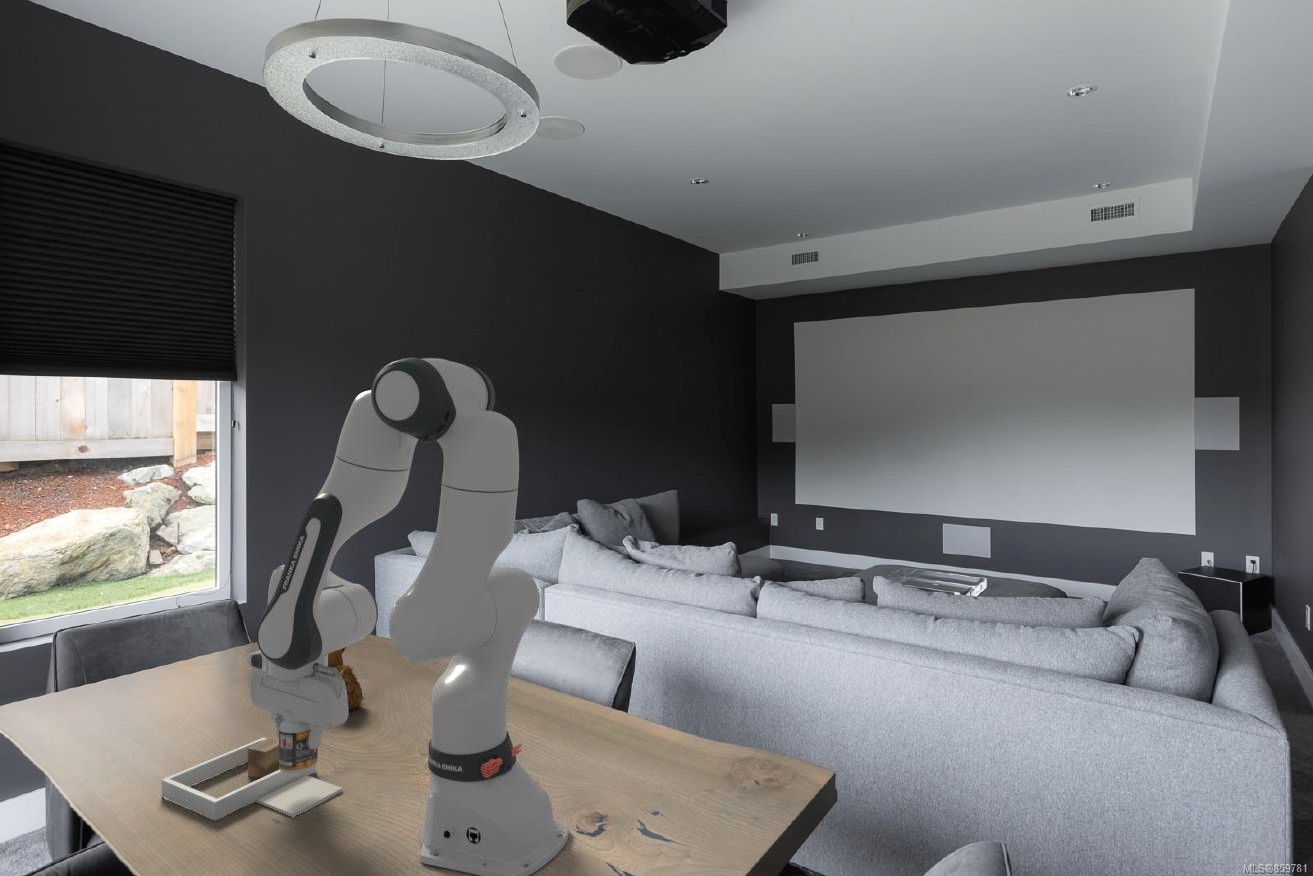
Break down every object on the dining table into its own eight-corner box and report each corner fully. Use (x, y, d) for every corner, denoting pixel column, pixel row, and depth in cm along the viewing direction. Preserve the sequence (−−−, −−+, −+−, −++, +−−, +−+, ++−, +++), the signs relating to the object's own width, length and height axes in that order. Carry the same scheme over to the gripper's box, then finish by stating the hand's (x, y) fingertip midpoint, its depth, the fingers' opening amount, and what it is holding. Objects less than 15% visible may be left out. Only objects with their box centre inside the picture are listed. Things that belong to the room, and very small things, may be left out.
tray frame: (315, 771, 126) (315, 755, 126) (215, 821, 111) (215, 802, 111) (263, 753, 133) (263, 737, 133) (161, 797, 117) (161, 779, 117)
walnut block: (284, 769, 127) (284, 742, 127) (266, 780, 123) (266, 752, 123) (266, 766, 128) (266, 738, 128) (248, 777, 125) (247, 748, 124)
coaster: (342, 791, 120) (342, 788, 120) (293, 818, 112) (293, 814, 112) (306, 778, 124) (306, 775, 124) (257, 803, 116) (256, 799, 116)
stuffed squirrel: (341, 692, 163) (340, 634, 163) (378, 706, 155) (377, 646, 154) (298, 706, 155) (297, 646, 154) (334, 722, 147) (334, 659, 146)
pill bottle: (302, 777, 114) (302, 716, 114) (270, 773, 116) (270, 712, 115) (325, 760, 120) (325, 702, 120) (295, 756, 121) (295, 698, 121)
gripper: (358, 664, 115) (358, 748, 116) (276, 643, 125) (277, 721, 125) (324, 676, 110) (324, 765, 110) (241, 654, 119) (241, 736, 119)
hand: (298, 742), depth 118 cm, fingers closed on pill bottle, 6 cm apart
